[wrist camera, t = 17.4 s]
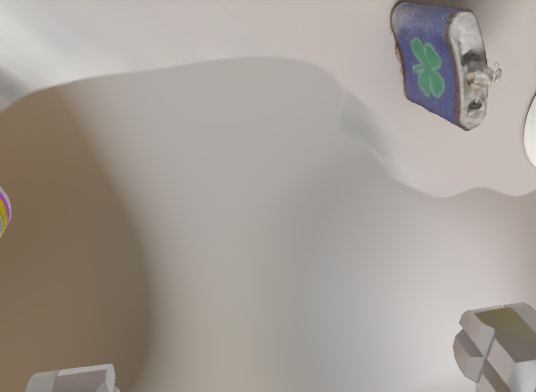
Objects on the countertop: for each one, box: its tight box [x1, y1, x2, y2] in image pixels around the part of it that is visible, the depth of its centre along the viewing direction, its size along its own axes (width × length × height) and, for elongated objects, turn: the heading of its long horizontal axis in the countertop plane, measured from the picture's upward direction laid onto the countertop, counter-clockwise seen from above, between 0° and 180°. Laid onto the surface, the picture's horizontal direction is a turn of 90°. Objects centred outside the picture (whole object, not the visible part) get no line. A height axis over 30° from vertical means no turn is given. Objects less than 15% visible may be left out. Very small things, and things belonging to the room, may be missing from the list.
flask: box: [390, 2, 502, 131], centre depth 34 cm, size 9×3×11 cm, turn 20°
